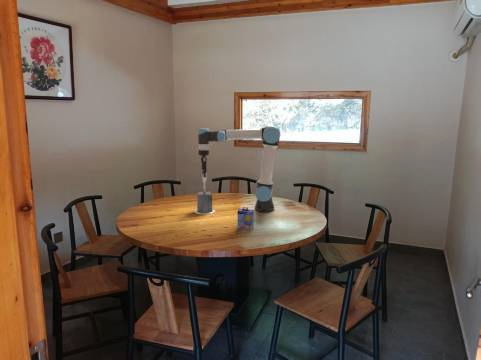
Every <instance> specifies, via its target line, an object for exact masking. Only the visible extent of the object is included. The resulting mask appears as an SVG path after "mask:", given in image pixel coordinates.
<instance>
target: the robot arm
mask: <svg viewBox="0 0 481 360" xmlns="http://www.w3.org/2000/svg"><path fill="white" fill-rule="evenodd" d="M197 133H198V134H197V136H198V137H197V138H198V141H197V142H198V145H197V147H198V156H201V157H200V160H201V162H200V163H201V172H202V173H203V177H201V180H202V182H205V183H206V182H208V181H207V180H208V179H207V177H208V174H207V175H206V172H207V170H208V169H207V161H208V159H207V158H208V157H207V156H209V155H210V151H209V150H210V144H209V143H210V142H211V143H212V142H215V143H216V142H217V143H218V142H219V143H222V142H223V143H224V142H225V141H230V140H231V141H236V140H237V141H240V140H258V139H259V140H261V141H262V143H261V144H262V145H263V153H262V158H261V159H262V160H261V165H260V167H261V168H260V174H259V179H258V180H257V182H256V188H255V192H254V193H255V198H256V202H255V205H254V211H257V212H262V213H267V212H273V211H275V205H274V202H273V201H274V200H273V188H274V182H273V180H272V179H273V171H274V165H275V159H276V158H275V157H276V151H277V148H278V147H279V144H280V138H281V130H280V128H279V127H278V126H276V125H268V126H261V127H260V128H243V129H242V128H240V129H238V128H237V129H224V130H223V129H219V130H214V131H213V130H212V131H211V130H210V129H209V128H208V127H207V128H205V127H204V128H203V127H201V128H199V129H198V132H197ZM207 173H208V172H207Z"/></svg>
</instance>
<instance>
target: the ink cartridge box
mask: <svg viewBox="0 0 481 360" xmlns="http://www.w3.org/2000/svg"><path fill="white" fill-rule="evenodd" d="M254 214H255V209H249V207H247V206H246V207H243V206H242V208H239V209H237V230H244V231H245V230H246V231H248V230H249V231H252V230H253V229H254V227H255V226H254V219H255V217H254V216H255V215H254Z"/></svg>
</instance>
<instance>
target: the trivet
mask: <svg viewBox="0 0 481 360" xmlns="http://www.w3.org/2000/svg"><path fill="white" fill-rule="evenodd" d="M193 213H194V214H196V215H197V214H198V215H210V214H214V213H216V210H215V209H213V208H212V212H211V213H198V212H197V209H195V210H194V211H193Z"/></svg>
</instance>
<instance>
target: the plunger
mask: <svg viewBox="0 0 481 360" xmlns="http://www.w3.org/2000/svg"><path fill="white" fill-rule="evenodd" d="M200 175H201V176H200V177H201V178H202V177H203V173H202V171H201V174H200ZM206 175H207V176H208V172H206ZM202 182H203V181H202ZM202 184H203V192H204V193H205V192H206V181H205V182H203V183H202Z"/></svg>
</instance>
